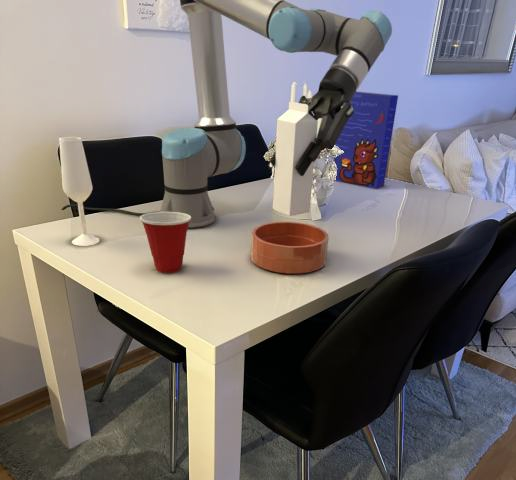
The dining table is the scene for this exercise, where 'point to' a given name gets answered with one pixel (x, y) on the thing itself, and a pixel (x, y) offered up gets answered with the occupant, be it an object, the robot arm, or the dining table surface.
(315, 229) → the bowl
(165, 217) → the plastic cup
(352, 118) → the cereal box
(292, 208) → the milk
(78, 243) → the champagne flute
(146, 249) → the dining table surface
